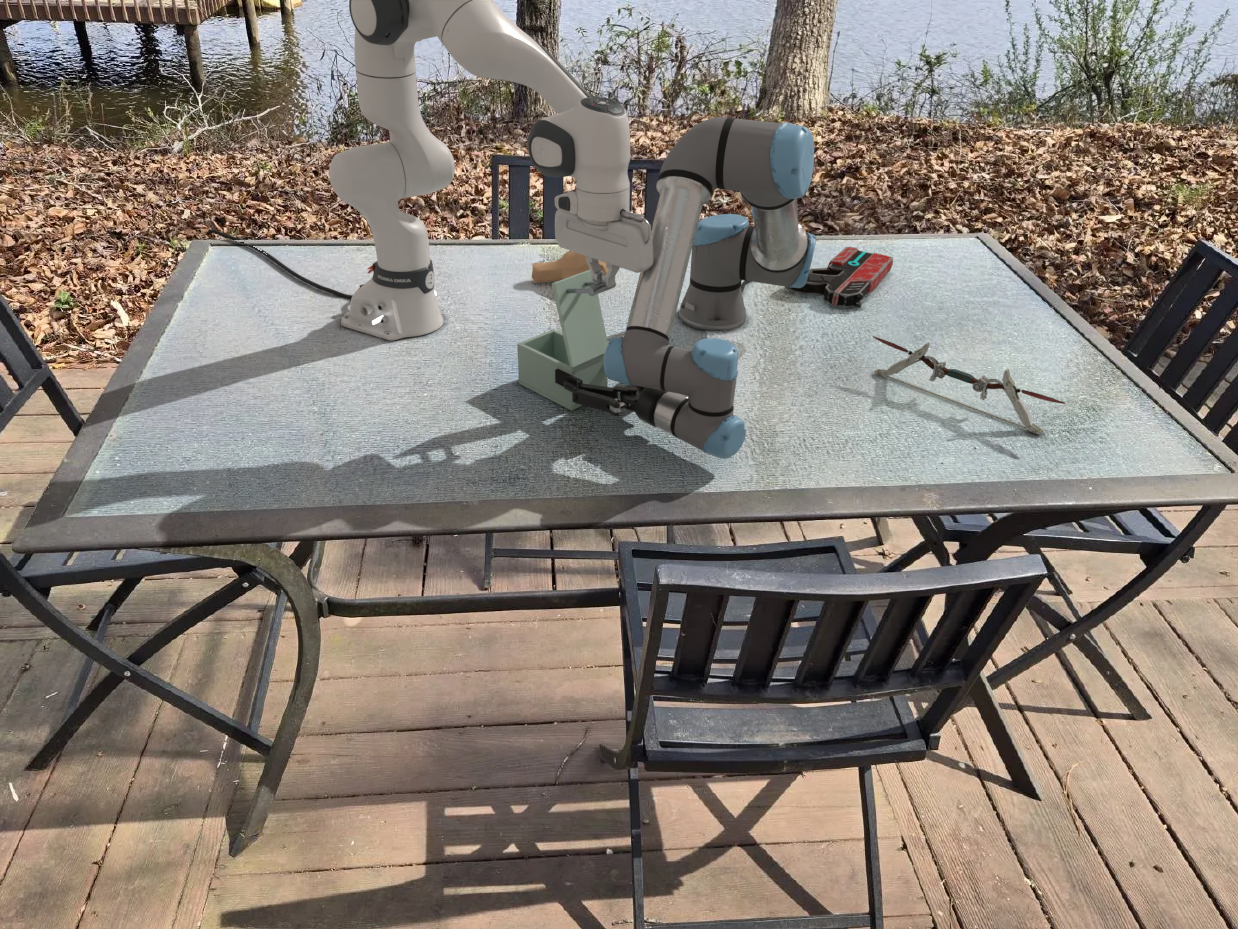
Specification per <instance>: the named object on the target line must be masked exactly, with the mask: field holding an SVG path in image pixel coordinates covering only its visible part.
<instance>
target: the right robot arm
mask: <svg viewBox="0 0 1238 929" xmlns="http://www.w3.org/2000/svg"><path fill="white" fill-rule="evenodd" d="M814 154H815V141H814V136H813V134H812V132H811V130H810V129H809V128H808V127H806V126H805V125H800V124H794V123H791V122H773V121H764V120H763V121H761V120H753V119H745V118H732V117H729V116H715V117H711V118H708V119H705V120H702V121H701V122H699V123H697V124H695V125H694V126H692V127H691V128H690V129H689V130H687V131H686V132H685V133H684V134H683V135H682V136H681V137H680V138H679V139H678V140H677V141H676V142H675V144H674V145H673V147H672V148H671V149H670V151H669V152H668V154H667V155H666V157H665V159H664V161H663V163H662V165H661V167H660V169H659V170H660V171H659V174H658V178H657V182H656V186H655V188H656V190H657V192H658V194H659V198H658V201H657V206H656V210H655V213H654V219H653V222H652V225H651V236H652V244H653V265H652V266H651V267H650V268H649V269H647V270H645V271H642V272H639V276H638V280H637V284H636V288H635V292H634V296H633V298H632V299H633V300H632V304H631V308H630V311H629V316H628V318H627V323H626V328H625V332H624V335H621V336H613V337H611V339H610V340H609V341H608V346H607V348H606V351H605V356H604V372H605V374H606V376H607V380H609V381H610V380H611V381H614V382H618V383H620V384H621V383H622V384H625V385H626V386H620V385H615V386H614V387H610V386H607V387H603V386H596V385H589V384H583V380H581V379H579V378H577V377H574V376H572V375H570V374H568V373H566V372H564V371H562V370H560V369H556V370H555V383H557V384H559V385H561V386H563V387H564V388H565V389H566V390H568V391H570V392H572V402H574V403H577V404H581V405H582V406H585V407H587V408H592V409H595V410H598V411H602V412H604V413H608V414H610V415H611V416H613V417H617V418H618V417H619V416H620V415H621V412H622V411H624V410H625V411H631V412H634V413H635V415H636V417H637V418H638V419H639V420H640V421H642V422H643V423H645V424H647V425H649V426H652V427H654V428H657V429H658V430H661V431H662V432H664V433H666V434H669V435H671V436H673V437H675V438H676V439H678V440H680V441H683V442H684V443H686V444H688V445H690V446H692V447H694V448H696V449H698V450H700V451H702V452H703V453H704V454H708V455H711V456H712V457H716V458H718V459H722V460H727V459H730V458H731V457H732V456H735V455H736V454H737V453H738V452H739V451H740V449H741V448H742V446H743V444H744V442H745V439H746V436H747V427H746V423H745V421H744V420H743V419H741V418H739V416H738V415H737V416H736V415H734V409H735V407H734V404H735V403H734V402H735V395H736V387H737V379H738V375H739V370H738V361H739V360H738V359H739V351H738V349H737V346H735V345H734V344H733V343H732V342H730V341H728V340H726V339H723V338H718V337H714V338H709V337H707V338H702V339H699V340H697V341H696V342H695V343H694V344H693V346H692V349H691V348H684V347H678V346H673V345H669V341H670V338H671V334H672V330H673V325H674V322H675V318H676V314H677V309H678V305H679V302H680V297H681V294H682V290H683V286H684V282H685V277H686V273H687V269H688V265H689V262H690V271H689V284H688V287H687V289H686V292H685V294H684V296H683V299H682V302H681V304H680V307H679V314H678V316H679V319H680V321H681V322H682V323H683V324H685V325H686V326H688V327H691V328H693V329H696V330H700V331H707V332H729V331H733V330H736V329H738V328H741V327H743V325H744V324H745V323H746V320H747V319H746V318H747V310H746V306H745V301H744V296H743V292H744V290H745V287H746V285H747V284H748V283H750V282H752V283H760V284H764V285H765V284H766V285H773V286H779V287H780V286H781V287H784V288H785V287H787V288H791V287H793V288H802V287H803V286H804V285H805V284H806V281H807V278H808V274H809V270H810V269H811V266H812V261H813V257H814V253H815V249H816V243H817V237H816V235H815V234H812V233H810V232H807V231H805V229H804V228H803V227H802V225H800V224H799V211H798V208H799V207H798V199H801V198H803V197H804V196H805V195H807V193H808V191H809V188H810V186H811V182H812V180H813V172H814V166H815V156H814ZM714 189H719V190H725V191H726V190H727V191H733V192H739V193H740V194H741V195H740V196H741V197H742V199H743V200H744V201H745V202H746V204H748V205H749V206H750V210H751V214H752V220H753V225H750V222H749V219H748V218H747V217H746V216H744V215H741V214H737V213H722V214H721V213H720V214H715V215H710V216H706V217H704V218H701V219H700V217H701V213H702V209H703V206H704V205H706V204H708V203H709V202H710V200H711V198H712V195H713V194H712V193H713V191H714ZM690 257H691V258H690ZM742 281H743V282H742ZM583 389H584V390H583Z"/></svg>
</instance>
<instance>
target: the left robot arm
mask: <svg viewBox="0 0 1238 929" xmlns="http://www.w3.org/2000/svg"><path fill="white" fill-rule="evenodd" d="M348 7H349V8H348V9H349V15H350V18H351V22H352V24H353V26H354V67H355V68H354V69H355V79H356V88H357V98H358V107H359V109H360V112H361V114H362V115H363V117H364V118H365V119H366V120H368V122H370V123H372V124H374V125H375V126H378V127H380V128H383V129H385V130H388V133H389V141H387V142H381V143H373V144H366V145H359V146H355V147H351V148H349V149H346V150H344V151H343V150H342V151H341V152H339V153H336V154H334V156H333V157H332V159H331V161H330V163H329V168H328V179H329V182H330V186H331V188H332V190H333V191H334V193H335V195H336V196H337V197H338V198H339V199H340V200H341V201H342V202H344V203H346V204H347V205H349V206H351V207H353V208H354V209H355V210H357V211H358V212H359V213H360V214H361V215H362V216H363V218H364V220H366V222H367V224H368V226H369V228H370V230H371V234H372V238H373V239H372V240H373V243H374V248H375V253H376V254H375V255H376V261H374V262H373V263H372V265H371V266H369V267H368V268H367V274H370V273H372V277H371V278H370V279H369V280H367V282H365V283H363V284H360V285H359V288H358V289H356V290H355V292H354V293H353V294H346V293H343V292H340V291H338V290H335V289H332V288H330V287H326V286H323V285H321V284H318V283H316V282H314V281H312V280H311V279H308V278H306V277H304V276H303V275H301V274H299V273H297V272H296V271H294V270H293V269H291V268H289V267H288V266H287V265H285V264H284V263H282V262H281V261H280V260H278V259H277V258H275V257H274V256H272V254H270V253H269V252H267V251H265V250H264V249H262V251H260V250H258V249H257V248H255V247H253V246H251V245H247V244H243V246H246V247H248V248H250V249H253V250H255V251H256V252H258V253H260V254H261V255H263V256H265V257H266V258H268V259H269V260H271V261H272V262H273V263H275V265H277V266H279V267H280V268H281V269H283V270H284V271H285V272H286V273H288V274H290V276H293V277H294V278H296V279H298V280H300V281H301V282H303V283H305V284H308V285H309V286H311V287H313V288H315V289H318V290H320V291H323V292H326V293H329V294H332V295H334V296H337V297H339V298H343V299H348V300H350V305H349V310H347V311H346V313H344V314H343V316H342V317H341V320H340V324H341V326H342V327H344V328H347V329H350V330H354V331H357V332H360V333H364V334H367V335H370V336H373V337H377V338H380V339H383V340H387V341H396V340H397V341H398V340H401V339H404V338H412V337H420V336H423V335H427V334H430V333H431V334H432V333H434V332H436V331H437V330H439V329H441V327H442V326H443V325H444V323H445V320H444V317H443V314H442V312H441V310H440V307H439V303H438V300H437V291H436V290H435V271H434V264H433V260H432V259H431V253H430V243H429V232H428V229H427V226H426V225H425V223H424V222H423V221H422V220H421V219H420V218H419V217H417V216H415V215H412V214H409V213H407V212H404V211H401V210H400V207H399V206H400V205H399V201H400V200H402V199H409V198H413V197H420V196H426V195H430V194H433V193H436V192H439V191H440V190H443V189H445V188H447V187H449V186H450V185H451V183H452V181H453V179H454V177H455V174H456V173H455V172H456V163H455V159H454V155H453V153H452V152H451V150H450V149H449V147H448V146H447V145H446V143H444V142H443V141H442V140H440V139H439V138H437V137H436V136H435V135H434V134H433V133H432V132H431V131H430V129H429V128H428V127H427V125H426V123H425V121H424V119H423V116H422V113H421V109H420V103H419V94H418V84H417V68H416V58H415V46H416V43H419V42H422V41H424V40H427V39H432V38H435V37H437V38H438V40H439V42H440V43H441V44H442V45H443V47H444V48H445V49H446V51H447V53H449V55H450V56H451V57H452V58H453V59H454V61H455V62H456V63H457V64H458V65H459V66H460V67H461V68H463V69H464V70H465V71H467V73H469V74H471V75H473V76H475V77H478V78H482V79H489V80H498V81H499V80H500V81H507V82H511V83H516V84H520V85H523V86H525V87H528V88H529V89H532V90H533V91H535V93H537V94H538V95H539V96H540V97H541V98H542V99H543V100H544V101H545V102H546V103H547V104H548V105H549V106H550V107H551V108H552V109H553V110H554V111H555V112H556V114H552V115H549V116H546V117H543V118H540V119H539V120H536V121H535V122H533V125H532V126H531V128H530V130H529V132H528V137H527V150H528V156H529V159H530V161H531V163H532V165H533V166H534V168H535V169H536V170H537V171H538V172H539V173H540V174H542V176H545V177H548V178H566V177H572V178H574V180H575V189H574V190H570V191H566V192H564V193H561V194H558V195H555V197H554V207H555V208H556V212H555V214H554V237H555V241H556V243H557V245H558V247H559V248H561V249H564V250H567V251H569V250H570V251H573V252H576V253H579V254H582V255H585V256H586V262H587V264H588V266H589V268H590V271H591V272H592V281H594V282H597V283H600V282H602V284H603V285H605V286H608V287H611V286H614V284H615V282H616V275H617V274H618V272H619V271H620V269H624V270H627V271H630V272H633V273H636V274H640V272H642V271H645V270H647V269H649V268H650V267H651V266H652V265H653V244H652V236H651V229H652V225H651V224H650V223H649V221H648V220H647V219H646V218H645V215H643V214H641V213H635V212H633V211H631V210H630V206H631V205H630V204H631V203H630V201H631V200H630V199H631V186H630V185H631V182H630V179H629V175H628V173H629V171H628V170H629V165H630V162H631V133H630V132H631V131H630V129H631V128H630V122H629V117H628V113H627V110H626V109H625V107H624V105H622V103H620V102H619V101H617V100H615V99H612V98H608V97H602V96H593V95H592V94H590V93H589V92H588V91H587V89H585V87H584V86H583V85H582V84H581V83H580V82H578V80H576V78H575V77H574V76H573V75H572V74H571V73H570V72H569V70H567V69H566V67H565V66H563V65H562V63H560V61H559V60H557V58H555V56H553V54H552V53H551V52H549V50H548V49H546V47H544V46H543V45H542V44H541V43H539V42H538V41H537V40H536V39H535V38H533V37H531V35H529V34H527V33H526V32H525V31H524V30H522V29H521V28H520V27H519V26H518V25H516V23H514V21H513V20H511V19H510V18H509V17H508V15H506V14H505V13H504V12H503V11H502V9H501V8H500V7H499V6H498V5H497V4H496V2H495V1H494V0H349V3H348ZM211 234H215V235H218V236H219V237H222V238H225V239H228V240H231V241H234V240H243V239H241V238H239V237H236V236H234V235H230V234H227V233H224V232H222V231H220V230H217V229H209V230H207V231H206V232H205V236H210V235H211ZM238 243H239V244H242V243H244V242H238ZM263 252H265V253H266V252H267V253H266V254H267V255H266V254H265V253H263ZM598 260H600V261H603V262H606V268H608V269H609V270H608V272H607V274H606V275H605V272H604V271H602V270H601V268H600V265H599V262H598Z"/></svg>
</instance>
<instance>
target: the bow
mask: <svg viewBox="0 0 1238 929" xmlns="http://www.w3.org/2000/svg"><path fill="white" fill-rule="evenodd" d="M872 338H873V339H874V340H877V341H879V342H880V343H882V344H884V345H886V346H889V347H890V348H893V349H895V350H897V351H898V350H899V351H901V352H904V353H906V354H908V355H909V356H908V357H907V358H904V359H903V358H902V359H901V360H900V361H897V362H896V363H893V364H892V365H891V366H889V367H888V369H881V368H876V369H875V370H874V373H875V374H876V375H878V376H879V377H882V378H883V377H884V378H885V377H886V378H889V379H890V380H891V379H892V380H894V381H896V382H899V383H902V384H905V385H907V386H910V387H912V388H916V389H919V390H921V391H923V392H927V393H929V394H932V395H934V396H937V397H939V398H943V399H945V400H949V401H950V402H952V403H953V402H954V403H956V404H959V405H961V406H964V407H967V408H969V409H973V410H974V411H978V412H980V413H983V414H985V415H988V416H991V417H993V418H996V419H999V420H1002V421H1005V422H1007V423H1010V424H1012V425H1015V426H1017V427H1021V428H1023V429H1026V430H1027V431H1028V432H1030V433H1033V434H1034V435H1035V434H1037V435H1042V433H1044V429H1042V427H1039V426H1038V425H1036V424H1035V423H1034V422H1033V421H1032V418H1031V415H1030V412H1029V410H1028V409H1027V407H1026V405H1025V404H1024V402H1023V400H1022V399H1021V398H1020V395H1019V393H1020V392H1021V394H1024V395H1027V396H1030V397H1032V398H1035V399H1039V400H1043V401H1047V402H1050V403H1056V404H1062V405H1065V404H1066V402H1065V401H1061V400H1059V399H1056V398H1054V397H1050V396H1047V395H1045V394H1041V393H1037V392H1033V391H1030V390H1026V389H1021V388H1017V387H1016V383H1015V381H1014V380H1013V378H1012V377H1011V373H1010V372H1011V371H1010V369H1008V368H1006V369H1005V370H1004V371H1003V376H1002V379H1001V380H999V379H997V378H988V377H987V376H986V375H982V376H981V377H980V378H976V377H975V376H973V375H972V374H970V373H968V372H965V371H963V370H959V369H957V368H947V367H946V366H947V362H946V361H940V362H939V361H938V359H936V358H935V357H933V356H931V355H926V354H927V353H928V351H929V348H930V344H931V343H930V342H929V341H928V342H925V344H924V345H923V346H922V347H920V348H917V349H916V350H915V351H914V352H913V351H911V350H908V349H907V348H905V347H903V346H901V345H898V344H896V343H894V342H891V341H889V340H887V339H883V338H881V337H877V336H874V335H872ZM918 362H923V363H924V364H925V365H926V366H927V367H929V368H930V369H931V370H932V374H931V375H930V378H928V381H930V382H932V383H934V381H936V379H937V378H938V379H940V380H941V379H942V380H943V378H945V376H947V377H950V378H952V379H956V380H959V381H962V382H964V383H967V384H970V385H972V390H973V391H974V392H977V393H980V394H979V395H980V398H979V400H982V401H985V400H986V399H987V396H988V390H1003V391H1004V393H1005V394H1006V396H1007V398H1008V399H1009V401H1010V402H1011V404H1012V407H1013V410H1014V411H1015V413H1016V414H1017V416H1018V419H1019V421H1020V423H1021V424H1022V425H1020V424H1018V423H1015V422H1013V421H1010V420H1007V419H1004V418H1001V417H999V416H996V415H993V414H991V413H988V412H986V411H983V410H980V409H977V408H975V407H972V406H970V405H967V404H964V403H961V402H959V401H956V400H953V399H950V398H948V397H946V396H943V395H940V394H937V393H934V392H932V391H929V390H926V389H923V388H921V387H918V386H917V385H916V386H915V385H913V384H911V383H907V382H904V381H902V380H899V379H898V378H897V379H896V378H894V377H891V376H892V375H894V374H895V375H896V374H899V373H900V372H901V371H903V370H905V369H906V368H908V367H910V366H912V365H914V364H916V363H918Z"/></svg>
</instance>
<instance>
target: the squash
mask: <svg viewBox="0 0 1238 929" xmlns="http://www.w3.org/2000/svg"><path fill="white" fill-rule="evenodd" d="M598 262H599V265H600V268H601V270H602V271H604V272H605V275H606V274H607V272H608V270H609V269H608V268H606V262H603V261H600V260H598ZM531 266H532V269H531V270H532V271H531V279H532V281H533V282H534V283H535V284H539V283H546V282H548V283H549V282H557V281H560V280H563V279H565V278H568V277H571V276H574V275H576V274H579V273H582V272H585V271H588V270H590V268H589V266H588V264H587V262H586V256H585V255H582V254H579V253H576V252H573V251H570V250H567V252H565V253H564V254H562V256H561V257H560V258H558V259H557V260H554V261H546V262H533V263H532V264H531Z"/></svg>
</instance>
